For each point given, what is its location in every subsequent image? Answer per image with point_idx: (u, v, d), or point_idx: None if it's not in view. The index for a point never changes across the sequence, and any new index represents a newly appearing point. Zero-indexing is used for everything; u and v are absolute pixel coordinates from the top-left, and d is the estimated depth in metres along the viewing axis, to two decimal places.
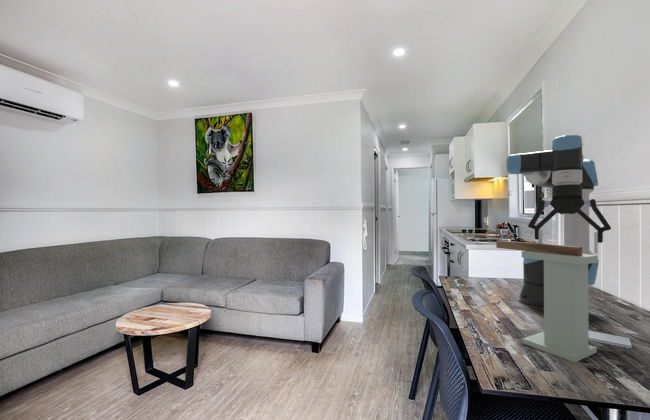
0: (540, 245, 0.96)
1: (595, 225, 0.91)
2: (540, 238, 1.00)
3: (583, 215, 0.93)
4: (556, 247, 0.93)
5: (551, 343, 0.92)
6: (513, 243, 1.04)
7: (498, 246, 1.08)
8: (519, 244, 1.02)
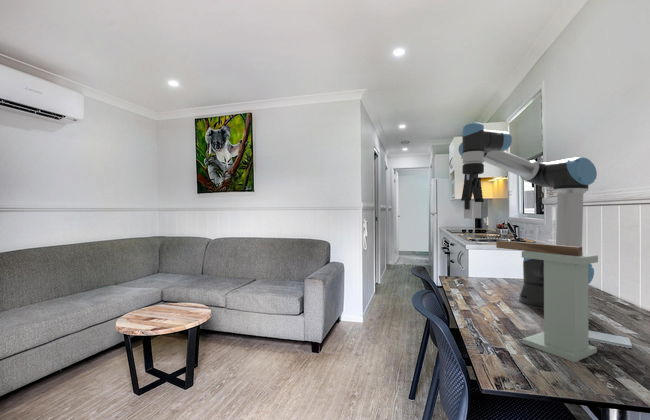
0: (540, 245, 0.96)
1: None
2: (474, 208, 1.25)
3: None
4: (556, 247, 0.93)
5: (551, 343, 0.92)
6: (513, 243, 1.04)
7: (498, 246, 1.08)
8: (519, 244, 1.02)
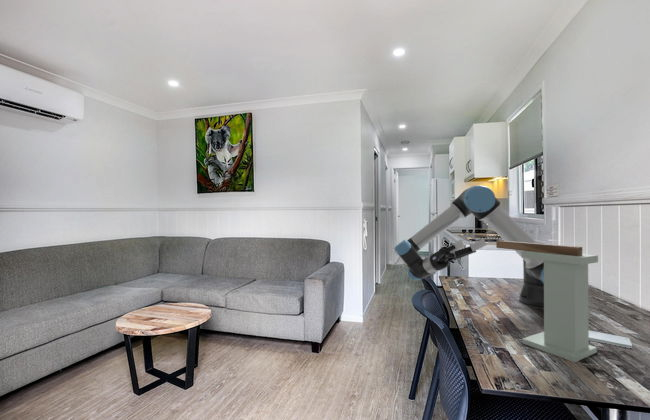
0: (540, 245, 0.96)
1: (447, 254, 1.22)
2: (478, 248, 1.25)
3: (446, 257, 1.26)
4: (556, 247, 0.93)
5: (551, 343, 0.92)
6: (513, 243, 1.04)
7: (498, 246, 1.08)
8: (519, 244, 1.02)
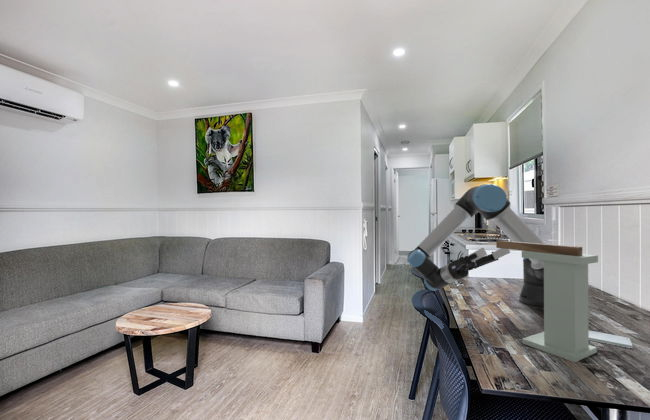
0: (540, 245, 0.96)
1: (468, 263, 1.14)
2: (501, 256, 1.16)
3: (467, 266, 1.17)
4: (556, 247, 0.93)
5: (551, 343, 0.92)
6: (513, 243, 1.04)
7: (498, 246, 1.08)
8: (519, 244, 1.02)
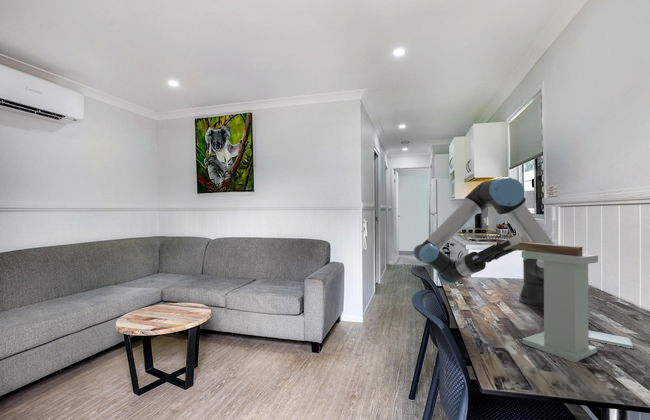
0: (540, 245, 0.96)
1: (497, 252, 1.08)
2: None
3: (490, 256, 1.11)
4: (556, 247, 0.93)
5: (551, 343, 0.92)
6: None
7: None
8: (519, 244, 1.02)
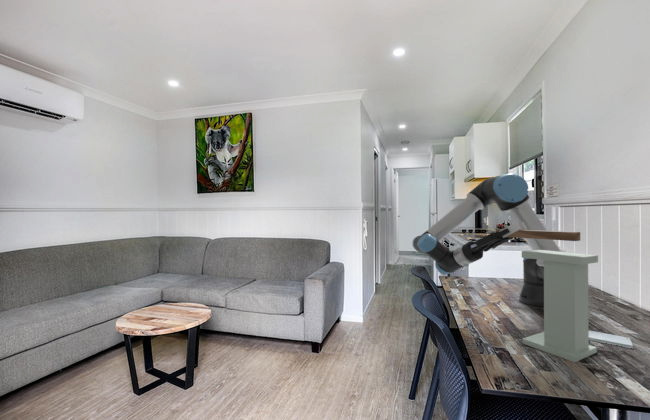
0: (539, 232, 0.98)
1: (496, 240, 1.09)
2: None
3: (488, 244, 1.12)
4: (554, 233, 0.94)
5: (551, 343, 0.92)
6: None
7: None
8: (518, 232, 1.03)
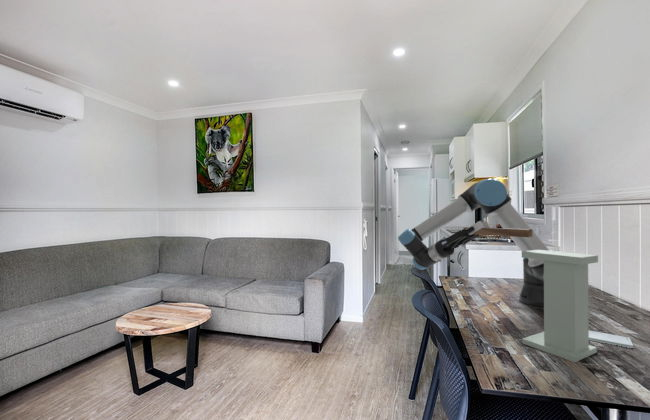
0: (498, 229, 1.09)
1: (463, 237, 1.20)
2: None
3: (457, 241, 1.23)
4: (511, 230, 1.05)
5: (551, 343, 0.92)
6: None
7: None
8: (482, 229, 1.15)
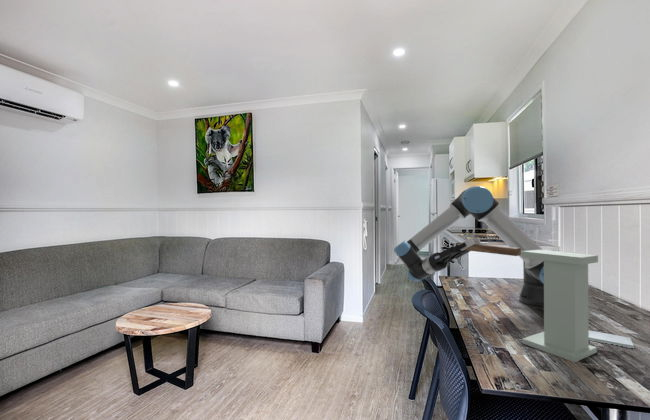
0: (488, 247, 1.13)
1: (456, 252, 1.24)
2: None
3: (450, 256, 1.27)
4: (500, 248, 1.09)
5: (551, 343, 0.92)
6: None
7: None
8: (473, 246, 1.18)
